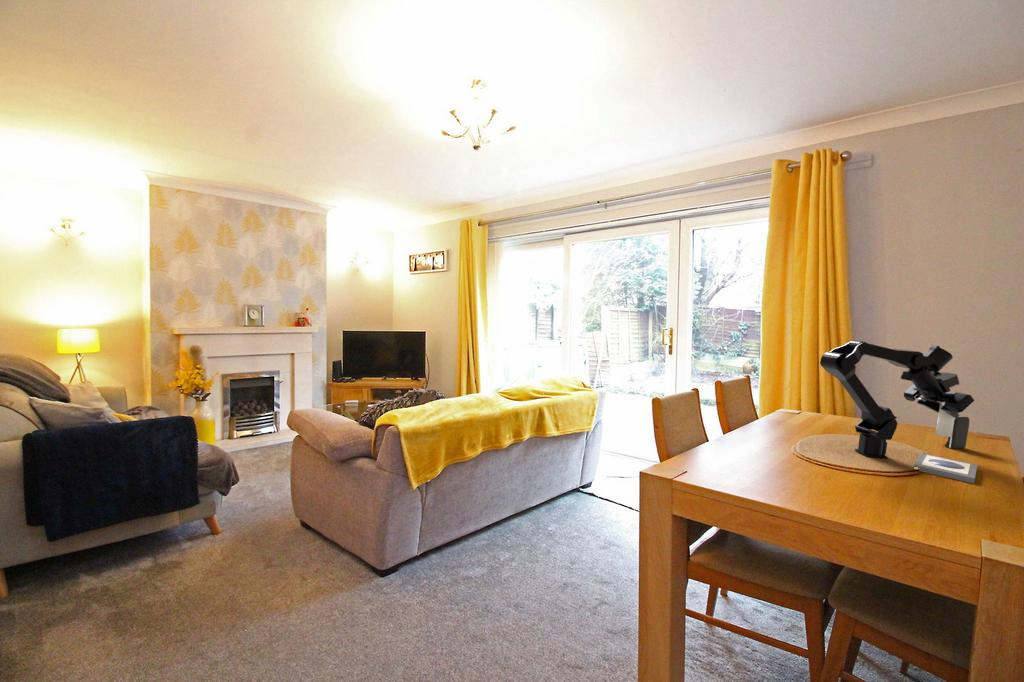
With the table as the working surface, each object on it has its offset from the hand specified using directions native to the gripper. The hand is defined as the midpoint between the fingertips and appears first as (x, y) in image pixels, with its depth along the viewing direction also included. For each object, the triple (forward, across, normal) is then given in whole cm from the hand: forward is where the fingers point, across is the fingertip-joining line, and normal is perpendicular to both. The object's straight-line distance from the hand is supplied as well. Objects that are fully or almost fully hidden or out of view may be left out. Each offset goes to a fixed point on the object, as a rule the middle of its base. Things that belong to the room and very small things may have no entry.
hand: (950, 415), depth 156 cm
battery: (+20, +10, 0) cm, 22 cm away
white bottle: (+4, 0, +6) cm, 7 cm away
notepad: (0, -13, +20) cm, 24 cm away
